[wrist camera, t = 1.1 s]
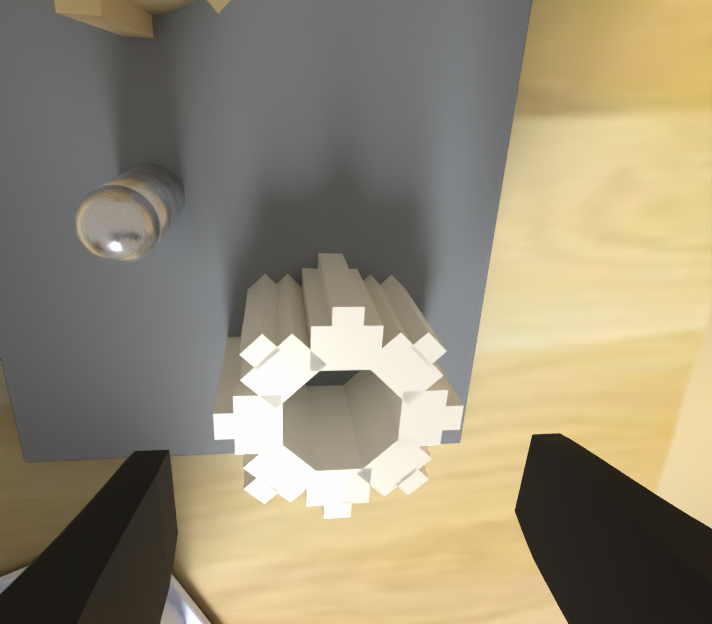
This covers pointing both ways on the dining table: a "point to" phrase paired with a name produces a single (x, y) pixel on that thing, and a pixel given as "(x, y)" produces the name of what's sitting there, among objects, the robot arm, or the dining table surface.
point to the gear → (333, 389)
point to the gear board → (236, 190)
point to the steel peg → (129, 214)
